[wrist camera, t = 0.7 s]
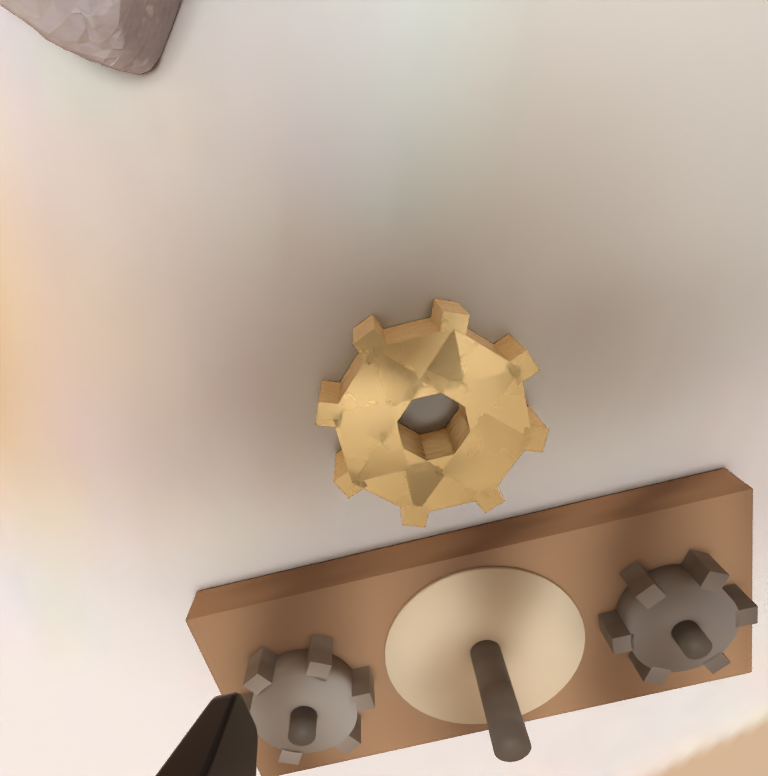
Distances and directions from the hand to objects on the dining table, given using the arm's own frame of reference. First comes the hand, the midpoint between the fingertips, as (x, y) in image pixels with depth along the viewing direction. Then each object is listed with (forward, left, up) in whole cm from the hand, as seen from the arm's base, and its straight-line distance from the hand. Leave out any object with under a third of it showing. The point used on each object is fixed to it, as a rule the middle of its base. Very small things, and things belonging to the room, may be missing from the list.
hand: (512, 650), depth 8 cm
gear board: (0, +10, -11) cm, 15 cm away
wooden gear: (0, 0, -11) cm, 11 cm away
